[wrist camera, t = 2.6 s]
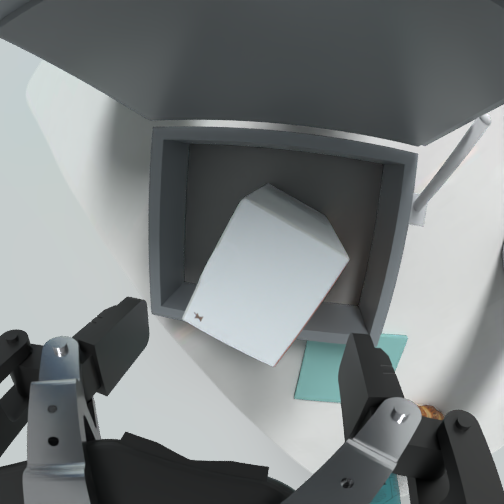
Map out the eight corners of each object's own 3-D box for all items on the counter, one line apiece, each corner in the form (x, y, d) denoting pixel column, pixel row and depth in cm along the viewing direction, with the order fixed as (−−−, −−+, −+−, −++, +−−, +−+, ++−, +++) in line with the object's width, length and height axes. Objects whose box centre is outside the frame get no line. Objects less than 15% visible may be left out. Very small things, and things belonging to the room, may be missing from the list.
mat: (406, 335, 28) (407, 338, 28) (379, 400, 31) (380, 403, 31) (310, 326, 30) (310, 329, 29) (294, 395, 33) (294, 398, 32)
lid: (425, 152, 17) (425, 135, 17) (607, 67, 1) (592, 33, 1) (144, 124, 19) (147, 108, 19) (-36, 35, 4) (-22, 7, 4)
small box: (285, 286, 29) (272, 371, 17) (227, 255, 29) (177, 320, 17) (328, 215, 26) (353, 259, 14) (267, 180, 26) (239, 194, 14)
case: (412, 134, 23) (499, 116, 10) (377, 321, 29) (415, 418, 15) (183, 109, 26) (93, 75, 12) (175, 294, 31) (105, 371, 18)
